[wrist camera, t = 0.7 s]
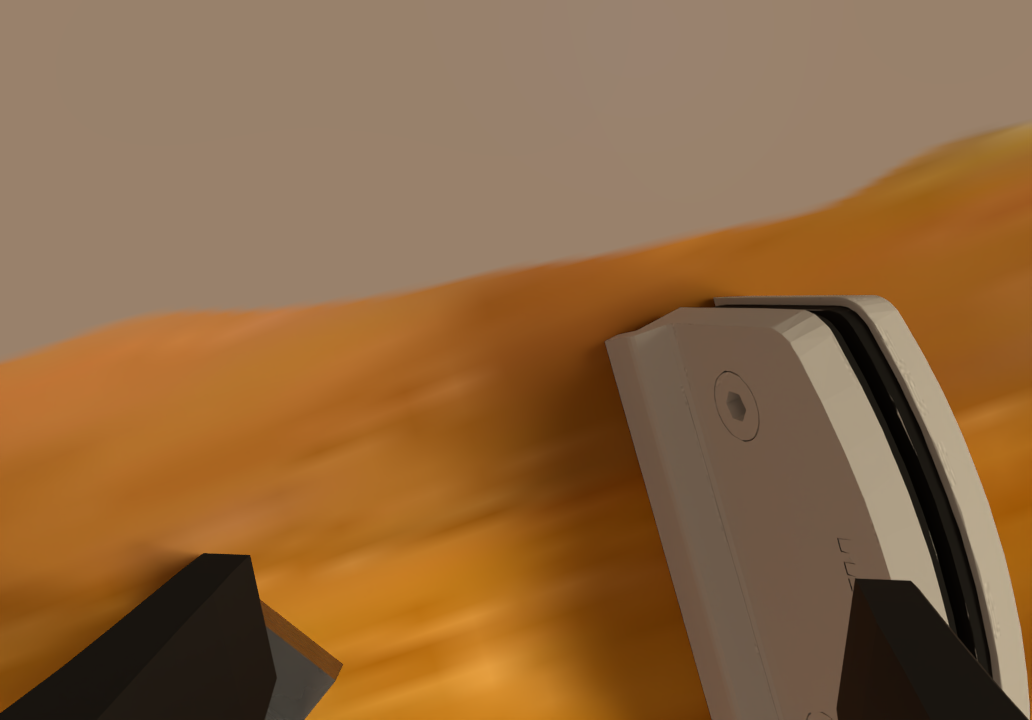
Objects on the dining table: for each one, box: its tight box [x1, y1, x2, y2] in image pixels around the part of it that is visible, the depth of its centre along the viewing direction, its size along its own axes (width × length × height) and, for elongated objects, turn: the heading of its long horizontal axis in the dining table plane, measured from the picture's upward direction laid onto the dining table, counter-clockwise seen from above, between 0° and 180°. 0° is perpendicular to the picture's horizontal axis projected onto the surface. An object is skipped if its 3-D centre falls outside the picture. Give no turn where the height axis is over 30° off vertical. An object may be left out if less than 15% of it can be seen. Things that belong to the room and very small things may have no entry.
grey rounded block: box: [605, 295, 1030, 720], centre depth 29 cm, size 17×5×10 cm, turn 16°
